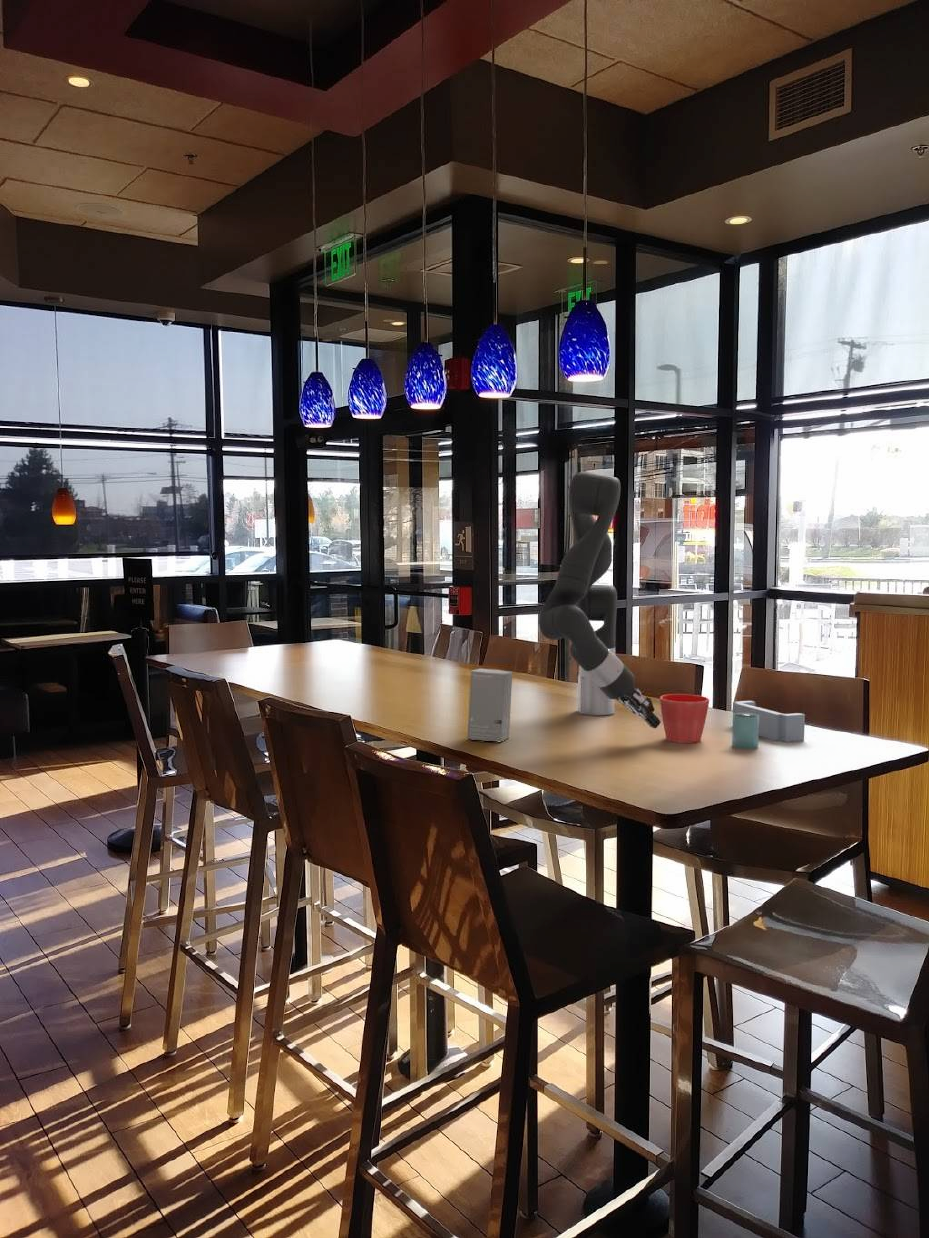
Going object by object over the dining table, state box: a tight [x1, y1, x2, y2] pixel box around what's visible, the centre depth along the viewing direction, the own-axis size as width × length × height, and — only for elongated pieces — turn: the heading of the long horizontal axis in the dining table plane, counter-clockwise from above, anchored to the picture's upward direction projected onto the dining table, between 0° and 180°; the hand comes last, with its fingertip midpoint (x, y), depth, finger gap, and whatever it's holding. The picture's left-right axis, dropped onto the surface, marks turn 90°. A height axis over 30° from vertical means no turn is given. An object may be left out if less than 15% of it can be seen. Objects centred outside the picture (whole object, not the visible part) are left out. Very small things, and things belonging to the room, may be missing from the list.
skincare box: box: [467, 668, 514, 742], centre depth 227 cm, size 8×7×16 cm
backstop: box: [732, 700, 806, 743], centre depth 236 cm, size 6×20×6 cm, turn 21°
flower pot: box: [659, 693, 710, 744], centre depth 228 cm, size 11×11×10 cm
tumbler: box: [731, 713, 759, 750], centre depth 221 cm, size 6×6×7 cm
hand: (656, 724), depth 226 cm, fingers closed
